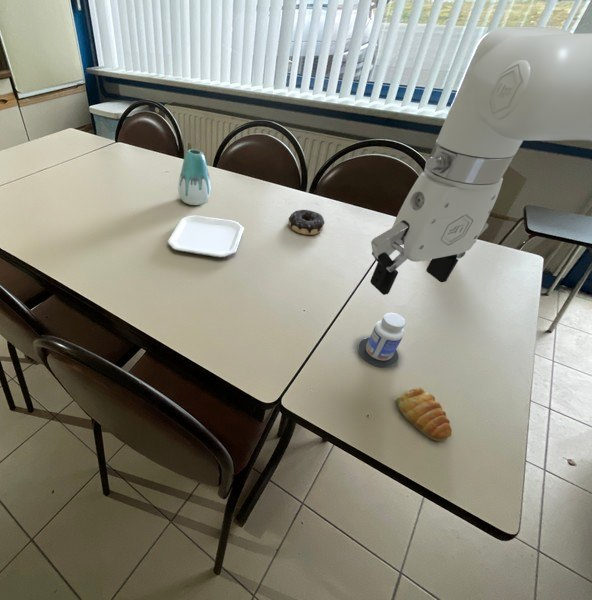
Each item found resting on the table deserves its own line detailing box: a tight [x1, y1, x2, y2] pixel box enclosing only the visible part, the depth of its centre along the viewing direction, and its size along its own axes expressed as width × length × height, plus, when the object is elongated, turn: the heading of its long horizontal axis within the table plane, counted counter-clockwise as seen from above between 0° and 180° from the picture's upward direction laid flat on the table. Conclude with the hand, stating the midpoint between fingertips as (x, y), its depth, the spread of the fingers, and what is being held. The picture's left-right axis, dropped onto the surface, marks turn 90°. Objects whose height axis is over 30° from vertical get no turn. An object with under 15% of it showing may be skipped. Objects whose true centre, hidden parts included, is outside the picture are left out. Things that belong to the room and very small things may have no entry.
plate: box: [167, 214, 245, 259], centre depth 112 cm, size 21×21×2 cm
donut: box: [288, 209, 325, 236], centre depth 117 cm, size 11×12×4 cm
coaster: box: [357, 337, 399, 369], centre depth 78 cm, size 8×8×1 cm
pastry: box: [396, 387, 453, 442], centre depth 66 cm, size 9×7×4 cm
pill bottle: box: [366, 312, 406, 361], centre depth 75 cm, size 5×5×10 cm
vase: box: [177, 148, 212, 206], centre depth 126 cm, size 12×12×18 cm
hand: (407, 282), depth 52 cm, fingers open, 9 cm apart
